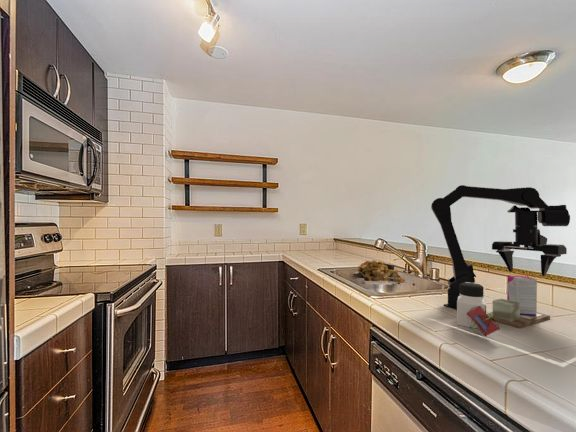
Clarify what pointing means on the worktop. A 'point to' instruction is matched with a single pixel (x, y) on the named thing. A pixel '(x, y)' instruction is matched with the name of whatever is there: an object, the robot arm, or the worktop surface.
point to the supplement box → (523, 293)
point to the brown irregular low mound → (379, 273)
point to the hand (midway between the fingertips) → (526, 273)
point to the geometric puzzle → (482, 320)
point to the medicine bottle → (469, 302)
